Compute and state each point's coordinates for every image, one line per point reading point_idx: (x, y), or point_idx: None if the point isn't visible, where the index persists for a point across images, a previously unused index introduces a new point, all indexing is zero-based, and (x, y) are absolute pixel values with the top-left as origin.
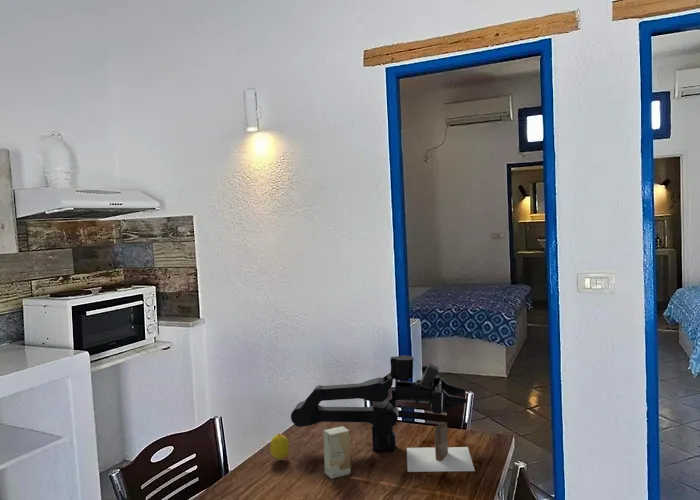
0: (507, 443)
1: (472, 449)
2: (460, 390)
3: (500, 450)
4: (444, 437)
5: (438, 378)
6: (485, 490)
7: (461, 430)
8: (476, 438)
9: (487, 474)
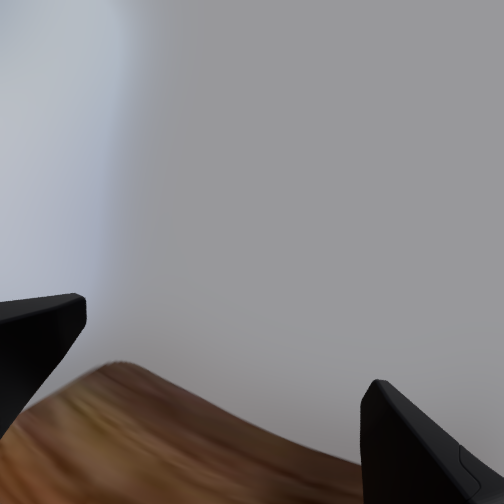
0: (171, 385)
1: (186, 497)
2: (63, 324)
3: (218, 424)
4: None
5: None
6: None
7: None
8: (92, 436)
9: None
